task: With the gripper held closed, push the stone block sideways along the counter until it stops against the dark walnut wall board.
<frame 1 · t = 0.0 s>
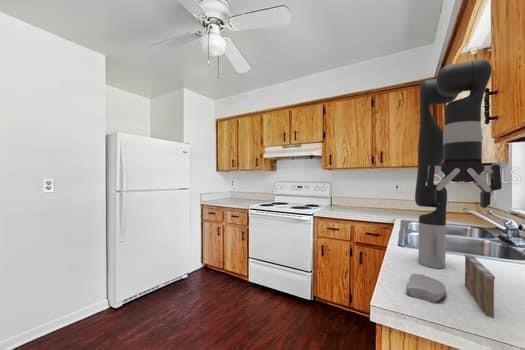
hand: (461, 206, 60), 29 cm above the worktop, tool pointing down, fingers open, 8 cm apart
stone block: (426, 294, 74), on the worktop
walnut wall board: (477, 299, 71), on the worktop
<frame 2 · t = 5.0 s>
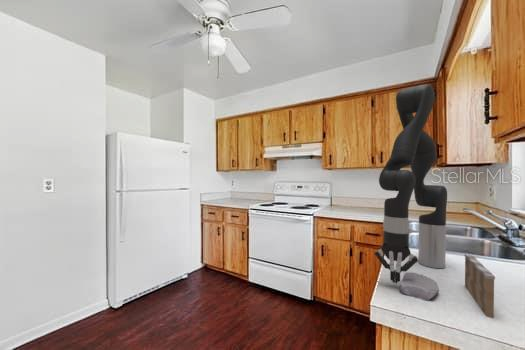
hand: (394, 282, 79), 2 cm above the worktop, tool pointing down, fingers closed
stone block: (420, 292, 76), on the worktop
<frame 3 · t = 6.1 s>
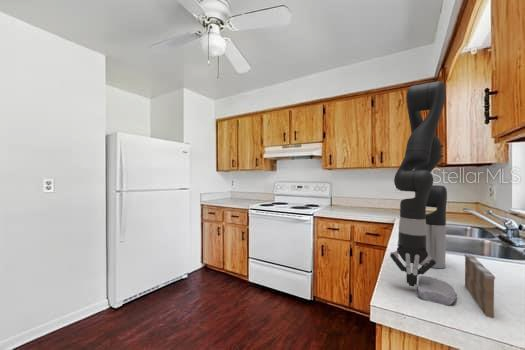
hand: (411, 285, 77), 2 cm above the worktop, tool pointing down, fingers closed
stone block: (436, 297, 73), on the worktop, touching gripper
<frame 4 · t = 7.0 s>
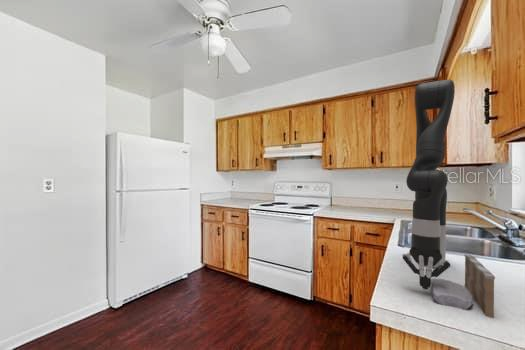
hand: (424, 287, 75), 2 cm above the worktop, tool pointing down, fingers closed
stone block: (451, 300, 71), on the worktop
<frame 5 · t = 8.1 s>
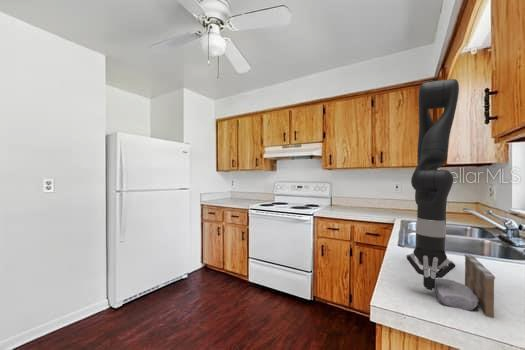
hand: (428, 288, 74), 2 cm above the worktop, tool pointing down, fingers closed
stone block: (456, 300, 71), on the worktop, touching gripper, walnut wall board
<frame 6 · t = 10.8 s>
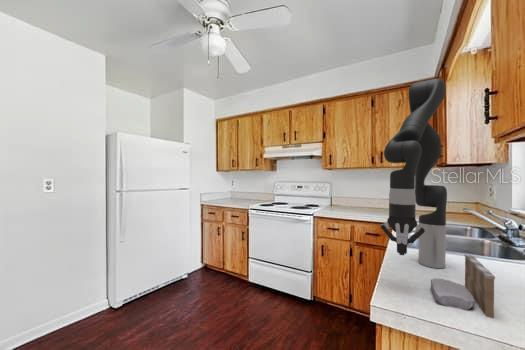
hand: (401, 254, 78), 11 cm above the worktop, tool pointing down, fingers closed
stone block: (452, 300, 71), on the worktop
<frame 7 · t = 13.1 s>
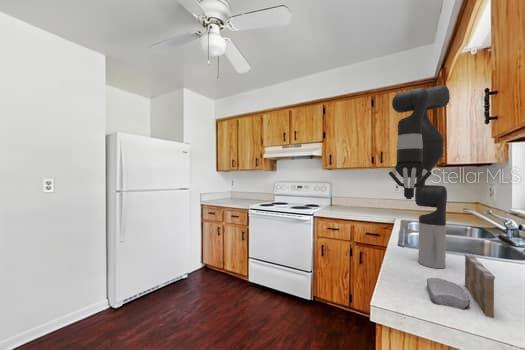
hand: (408, 198, 81), 29 cm above the worktop, tool pointing down, fingers closed
stone block: (448, 299, 72), on the worktop
at the end: stone block inside the target area (1.3 cm from its centre), on the worktop; stone block 8.3 cm from the walnut wall board (horizontally); stone block moved 5.1 cm from its start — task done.
